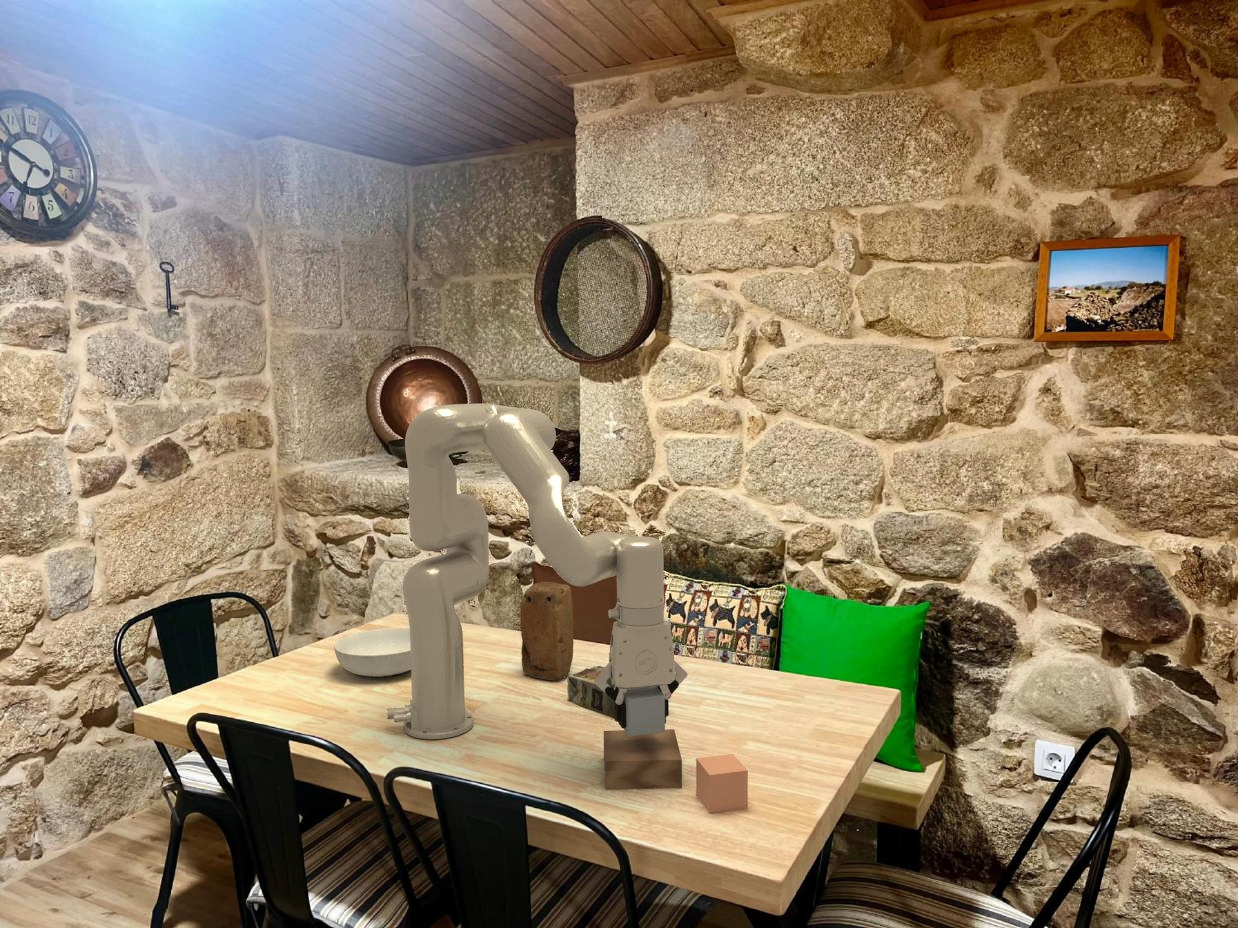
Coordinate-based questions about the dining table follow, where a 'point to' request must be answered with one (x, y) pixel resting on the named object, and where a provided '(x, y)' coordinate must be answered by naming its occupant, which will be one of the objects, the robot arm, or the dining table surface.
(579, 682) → the juice carton
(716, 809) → the terracotta cube
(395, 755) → the dining table surface
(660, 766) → the base block
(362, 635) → the serving bowl
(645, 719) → the grey cube
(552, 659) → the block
